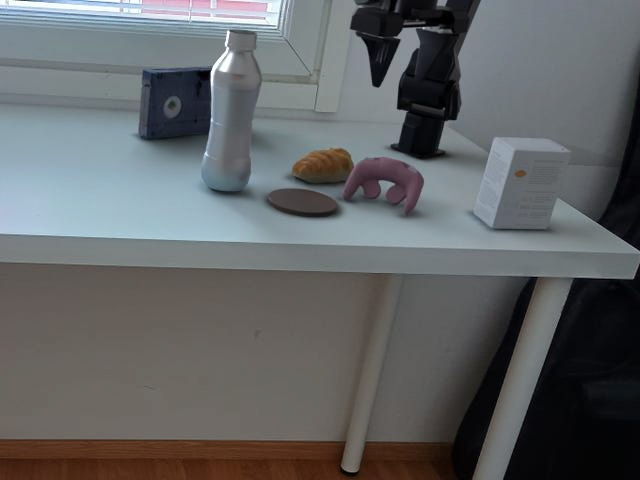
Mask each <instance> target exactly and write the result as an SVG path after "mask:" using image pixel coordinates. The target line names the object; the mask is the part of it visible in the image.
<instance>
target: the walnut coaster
mask: <svg viewBox="0 0 640 480" xmlns="http://www.w3.org/2000/svg"><path fill="white" fill-rule="evenodd" d="M267 202H268V204H269V205H271V207H273V208H274V209H276V210H278V211H281V212H283V213H286V214H290V215H294V216H298V217H299V216H300V217H306V218H321V217H328V216H331V215H333V214H334V213H335V212H336V211H337V208H338V202H337V201H336V200H335V199H334V198H333V197H331V196H329V195H327V194H325V193H322V192H319V191H315V190H311V189H307V188H306V189H305V188H296V187H295V188H294V187H293V188H291V187H288V188H286V187H285V188H278V189H275V190H272V191H271V192H270V193H268V197H267Z"/></svg>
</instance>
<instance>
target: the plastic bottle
mask: <svg viewBox="0 0 640 480" xmlns="http://www.w3.org/2000/svg"><path fill="white" fill-rule="evenodd" d="M257 41H258V33H257V32H256V31H252V30H249V29H242V28H241V29H239V28H238V29H237V28H233V29H231V28H230V29H228V30H227V34H226V40H225V42H224V46H225V48H226V50H225V52H224V53H223V54H222V55H221V57H219V59H218V60H217V61H216V62H215V64H214V65H213V66H214V67H213V69H212V72H211V99H212V106H211V116H212V117H211V125H210V131H209V133H208V137H207V141H206V148H205V151H204V154H203V157H202V162H201V164H200V165H201V166H200V169H201V179H202V181H203V183H204V185H206V187H208V188H210V189H213V190H216V191H222V192H238V191H241V190H243V189H245V188H246V186H247V185H248V183H249V181H250V178H251V174H252V160H251V143H252V129H253V121H254V118H255V117H254V116H255V112H256V107H257V103H258V100H259V96H260V92H261V87H262V84H263V80H264V79H263V73H262V72H263V71H262V69H261V67H260V64H259V62H258V60H257V58H256V56H255V54H254V51H255V50H257V46H258V44H257Z"/></svg>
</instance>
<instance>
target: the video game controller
mask: <svg viewBox="0 0 640 480" xmlns="http://www.w3.org/2000/svg"><path fill="white" fill-rule="evenodd" d="M379 181H383V182H384V181H385V182H388V183H391V184H394V185H392V186H390V187H389V188H388V189H387V190H386V193H385V199H386V201H387V202H388V203H389V204H390V205H392V206H397V205H400V204H401V203H403V201H404V205H403V213H404V215H406V216H409V215H410V214H412V213H413V212H414V210H415V208H416V207H417V204H418V202H419V199H420V197H421V194H422V191H423V188H424V186H425V185H424V184H425V180H424V177H423V175H422V174H421V172H420V171H419V170H418V169H417V168H416V167H415V166H413V165H410V164H408V163H407V162H404V161H402V160H400V159H395V158H391V157H384V156H380V157H369V156H366V157H364V158H363V159H362V160H360V161H358V162H357V163H356V164H354V168H353V170H352V172H351V174H350V175H349V177H348V180H347V181H345V185H344V187H343V190H342V199H343V200H344V201H349V200H351V198H352V197H354V195H355V194H356V192H357V191H358V189H360V187H361V189H362V192H363V195H364V197H366V198H367V199H369V200H376V199H377V198H379V197H380V196H381V192H382V187H381V185H380V182H379Z"/></svg>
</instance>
